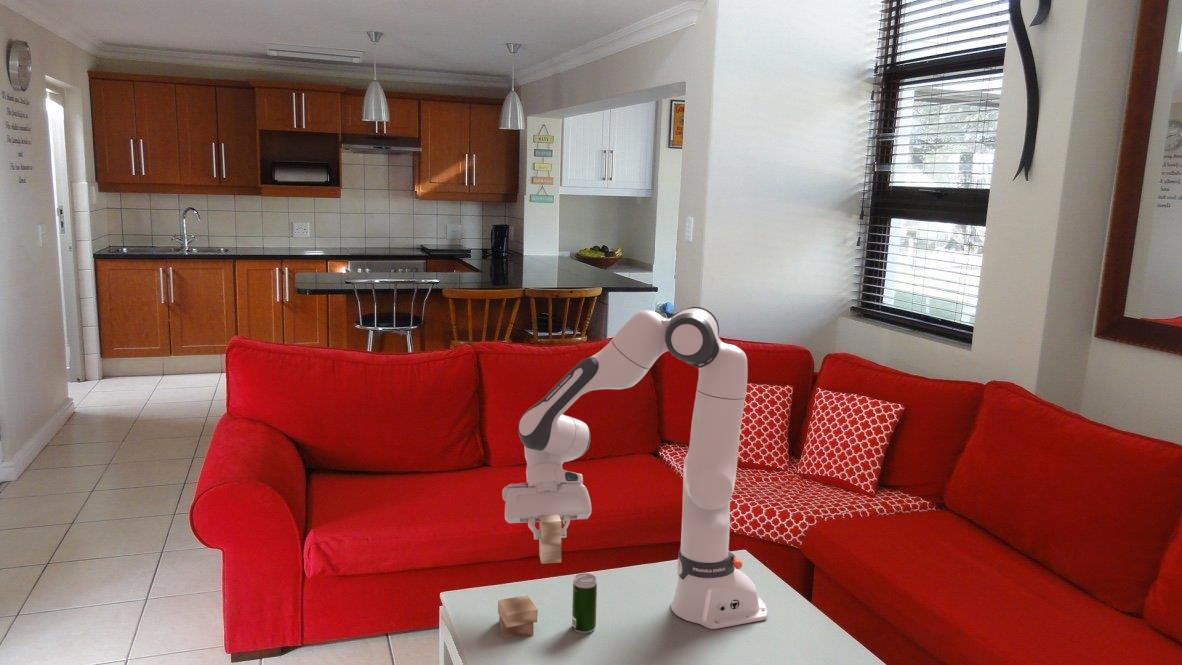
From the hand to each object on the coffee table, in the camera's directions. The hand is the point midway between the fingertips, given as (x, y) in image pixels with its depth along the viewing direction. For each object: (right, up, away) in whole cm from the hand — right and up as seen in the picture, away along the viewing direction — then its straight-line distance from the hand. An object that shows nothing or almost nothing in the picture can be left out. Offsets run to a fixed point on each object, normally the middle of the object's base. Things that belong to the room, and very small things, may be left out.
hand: (550, 537), depth 192 cm
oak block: (-7, -17, -5) cm, 19 cm away
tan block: (0, -5, +2) cm, 5 cm away
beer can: (+8, -20, -4) cm, 21 cm away
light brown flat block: (-8, -20, -4) cm, 21 cm away
